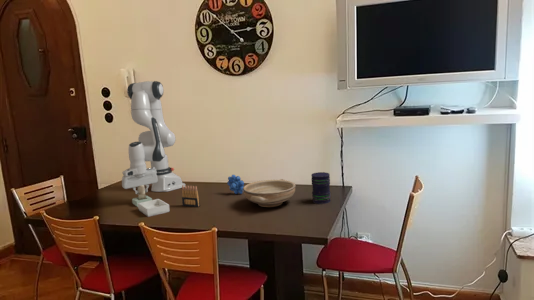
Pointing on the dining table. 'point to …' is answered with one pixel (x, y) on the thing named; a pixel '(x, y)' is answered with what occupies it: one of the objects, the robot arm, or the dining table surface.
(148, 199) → the holder
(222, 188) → the dining table surface
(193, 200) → the ammunition clip
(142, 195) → the dowel
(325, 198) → the storage jar
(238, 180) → the grapes
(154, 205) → the tray
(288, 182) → the ceramic bowl
